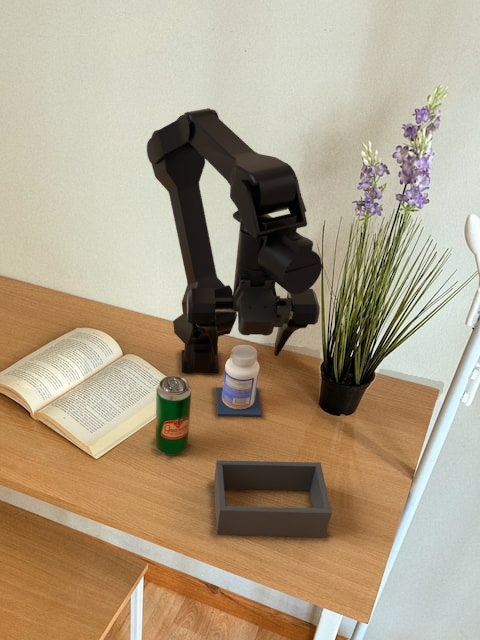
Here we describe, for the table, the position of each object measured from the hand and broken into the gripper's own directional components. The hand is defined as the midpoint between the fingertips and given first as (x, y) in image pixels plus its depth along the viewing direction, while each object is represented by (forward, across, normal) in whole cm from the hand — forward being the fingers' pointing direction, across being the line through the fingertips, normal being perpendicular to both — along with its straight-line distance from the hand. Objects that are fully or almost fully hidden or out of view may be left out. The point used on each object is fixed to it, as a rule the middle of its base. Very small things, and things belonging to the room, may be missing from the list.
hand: (245, 354), depth 107 cm
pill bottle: (+10, 0, +1) cm, 10 cm away
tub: (+10, +2, -23) cm, 25 cm away
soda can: (+10, -11, -10) cm, 18 cm away
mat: (+10, 0, +1) cm, 10 cm away
